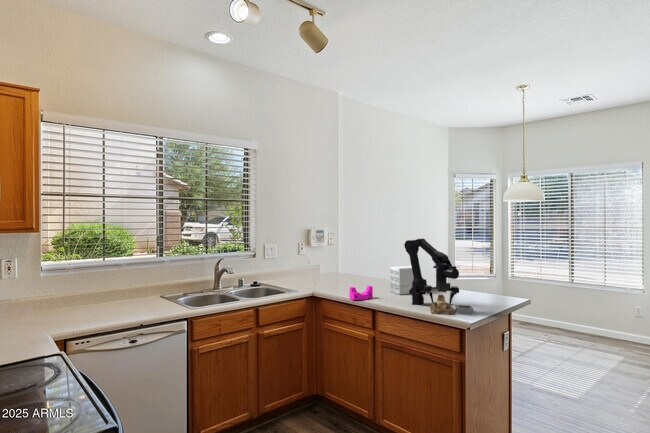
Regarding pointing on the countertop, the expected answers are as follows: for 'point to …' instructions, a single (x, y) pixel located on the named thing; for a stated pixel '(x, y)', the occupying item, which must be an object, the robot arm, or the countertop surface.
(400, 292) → the white drawer cabinet
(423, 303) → the robot arm
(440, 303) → the fuselage
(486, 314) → the countertop surface
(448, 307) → the jig
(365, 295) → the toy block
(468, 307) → the tail socket
